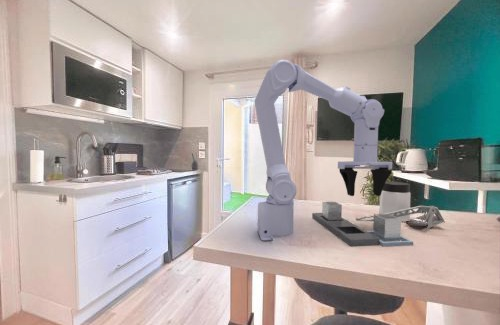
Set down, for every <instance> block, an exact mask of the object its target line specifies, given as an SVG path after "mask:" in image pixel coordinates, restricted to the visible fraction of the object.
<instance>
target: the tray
mask: <svg viewBox="0 0 500 325" xmlns="http://www.w3.org/2000/svg"><path fill="white" fill-rule="evenodd" d="M366 231H367V232H369V233H370V234H372V235H373V230H366ZM378 246H381V247H403V246H404V247H406V246H414V241H413V240H411V239H409V238H406V237H404V236H402V235H400V241H390V242H383V241H381V240H379V245H378Z"/></svg>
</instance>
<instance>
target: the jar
mask: <svg viewBox="0 0 500 325" xmlns="http://www.w3.org/2000/svg"><path fill="white" fill-rule="evenodd" d="M410 185H411V184H410V183H407V182H400V181H386V182H385V184H384V187H383V190H382V193H381V196H379V213H378V214H385V213H390V212H394V211H399V210H403V209H408V208H411V196H412V195H411V194H412V193H411V191H410V188H411V186H410ZM404 212H405V211H403V212H401V213H403V214H404ZM410 212H411V210H409V212H408V213H410ZM399 214H400V213H397V215H399ZM391 215H392V216H393V215H394V214H391ZM410 216H411V214H410V215H405V216H400V217H398V218H400V219H401V223H406V221H409V220H410V221H411V218H410ZM410 221H409V222H410Z"/></svg>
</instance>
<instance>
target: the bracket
mask: <svg viewBox="0 0 500 325" xmlns="http://www.w3.org/2000/svg"><path fill="white" fill-rule="evenodd" d="M416 209H417V210H416ZM409 210H410V213H408V212H409ZM415 210H416V211H415ZM403 211H405V212H404V214H403V213H401V212H403ZM397 213H400V214H399V215H397ZM385 214H390V215H391V214H394V215H393V216H395V217H400V216H405V215H410V216H411V215H415V214H423V216H422V218H421V221H420V223H421V222H424V223H423V225H424V224H428V226H426V227H427V228H426V229H431V228H432V227H435V226H436V225H437V226H438V225H439V224H442V223H443V224H444V223H446V221H445V219H444V217H443V216H442V214H441V211H440V210H439V208H438V207H437V206H434V205H428V206H427V205H418V206H414V207H413V206H412V207H410V208H408V209H403V210H399V211H394V212H390V213H385ZM434 215H435V217H436V218H434ZM369 218H372V219H369ZM362 219H369V220H368V221H369V222H374V215H367V216H366V215H365V216H360V217H356V218H355V220H356V221H359V220H362ZM426 222H428V223H426Z"/></svg>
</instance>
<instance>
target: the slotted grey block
mask: <svg viewBox="0 0 500 325" xmlns="http://www.w3.org/2000/svg"><path fill="white" fill-rule="evenodd" d="M321 209H322V210H321V213H322V218H323V219H325V220H326V221H341V217H342V210H343V205H342V204H341V203H339V202H336V201H322V205H321Z"/></svg>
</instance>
